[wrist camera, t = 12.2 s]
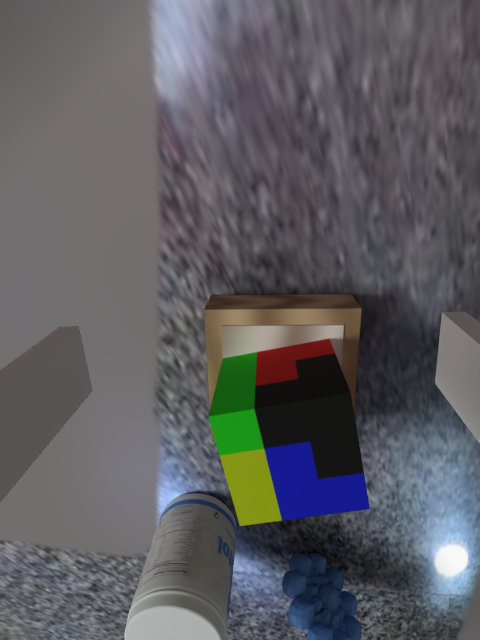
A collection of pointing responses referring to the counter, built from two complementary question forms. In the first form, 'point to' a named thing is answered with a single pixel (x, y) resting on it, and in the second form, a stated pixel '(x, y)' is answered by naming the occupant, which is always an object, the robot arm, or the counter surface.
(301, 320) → the oak picture frame
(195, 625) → the supplement tub
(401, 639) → the counter surface
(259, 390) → the puzzle toy
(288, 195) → the counter surface
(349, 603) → the grapes
